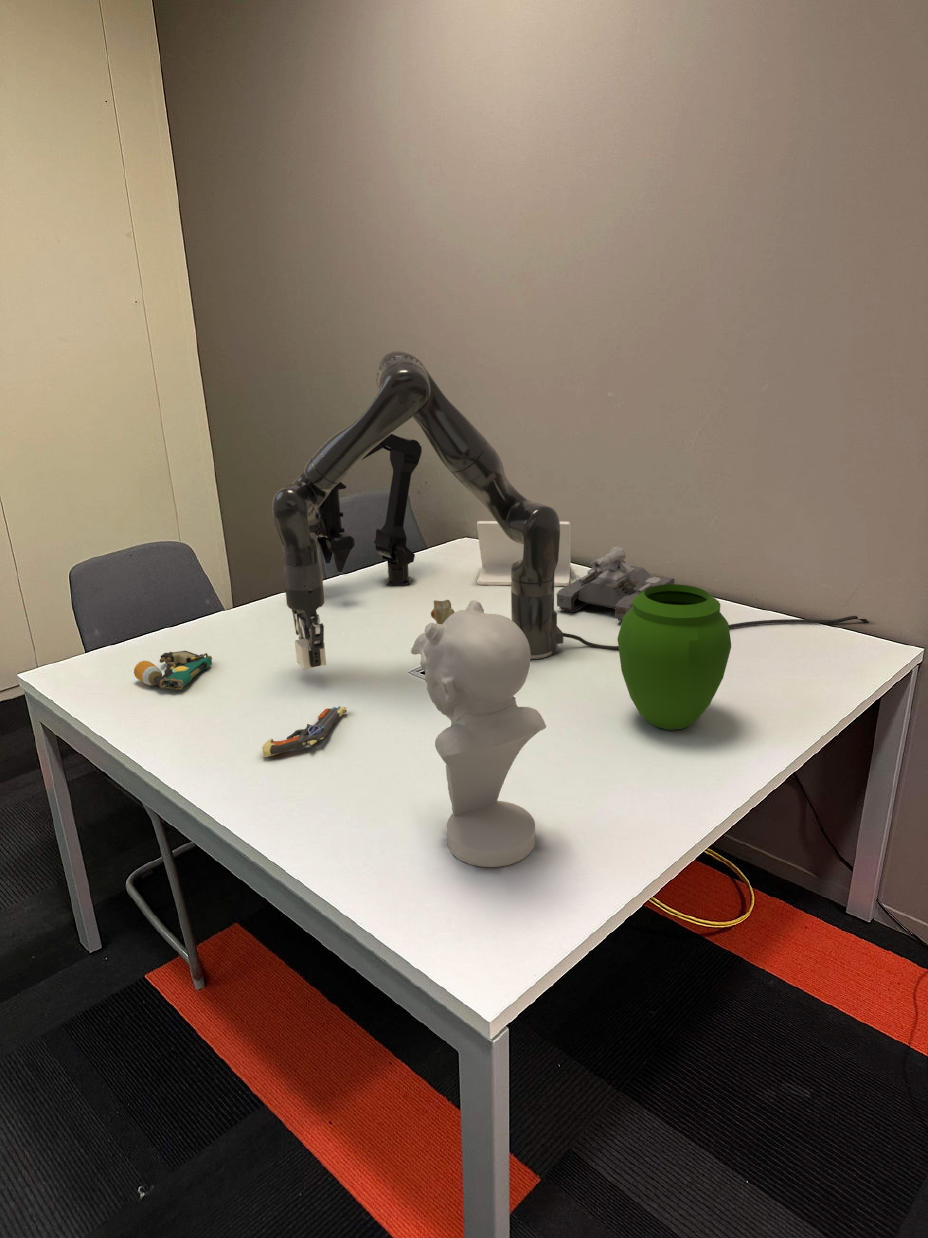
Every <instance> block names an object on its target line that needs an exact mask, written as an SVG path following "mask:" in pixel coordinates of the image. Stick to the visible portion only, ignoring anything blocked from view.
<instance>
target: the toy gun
mask: <svg viewBox="0 0 928 1238" xmlns="http://www.w3.org/2000/svg"><path fill="white" fill-rule="evenodd" d="M347 708H348V707H347V706H340V705H339V706H337V707H336V706H333V707H332V708H325V709H324V710H323V711H322V712H321V713H320V714H319V715H318V716H317V721H316V722H315V723H314V724H309V723H307V724H306V727H305V728H302V729H295V730H294V732H293V733H291V734H290V735H288V736H287V737H286V739H283V740H274V739H273V738H269V740H266V742H264V743H263V745H262V747H261V748H262V749H261V750H262V754H263V756H264V757H267V758H268V757H272V756H275V755H276V756H277V755H280V754H283V753H287V752H290V751H293V750H298V749H300V748H303V747H306V746H309V745H310V746H313V745H314V744H316V743H318V742H319V741H321V740H324V738H325V737H327V735H328V733H329V732H330V731H331V729H332V727H333V725H334V724H335V723H336V722H337V721H338V720H339V718H341V717H342V715H344V714H347V712H348V709H347Z"/></svg>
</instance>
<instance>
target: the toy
mask: <svg viewBox="0 0 928 1238" xmlns="http://www.w3.org/2000/svg"><path fill="white" fill-rule="evenodd" d="M626 557H627V556H626V551H625V549H624V548H622V547H621V546H614V547H612V548H611V549H610V550H609V552H608V553H607V554H605V555H604V556H601V557H599V558H598V559H597V557H596V558H594V559H593V560H592V561H590V562H589V563H590V564H591V565H592V567H591V568H590V569H589V570H587V573H586V575H584V576H582V577H580V578H578V579H577V580H575V581H573V582H570V583H569V585H567V586H563V587H562V588H560V589H559V590H558V591H557V592H556V607H558V608H559V609H560V610H562V611H566V612H572V613H575V612H577V611H579V610H581V609H582V608H585V607H586V606H588V605H592V606H598V607H602V608H603V607H604V608H609V609H613V610H614V618H615V619H617V620H618V621H621V622H622V620H623V616H624V615H625V614H626V613H627V612H628V611H629V610H630V609H631V608H632V607H633V599H634V597H635V596H637V595H639V594H640V593H642V592H644V591H645V590H646V589H648V588H650V587H653V586H658V585H667V584H675V580H676V579H675V578H673V577H668V576H663V575H656V576H655V577H654V576H651V574H650V573H649V572H648V571H647V570H646V568H644V567H641V566H635V565H629V564H628V563H627V562H626V561H625V559H626Z"/></svg>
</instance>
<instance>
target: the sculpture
mask: <svg viewBox="0 0 928 1238" xmlns="http://www.w3.org/2000/svg"><path fill="white" fill-rule="evenodd" d="M455 612H456V611H455V609H453V608H452V602H451V601H450V599H445V600H433V610H431V612H430V617H431V618H432V619H433V620H434V621H435V622H436V623H435V624H443V623H444V622H445V620H446V619H447V618H448V617H450V616H451V615H452V614H453V613H455Z"/></svg>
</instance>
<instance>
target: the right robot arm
mask: <svg viewBox="0 0 928 1238" xmlns="http://www.w3.org/2000/svg"><path fill="white" fill-rule="evenodd" d="M375 375H376V377H375V378H376V379H375V381H376V386H377V394H376V395H375V397H374V399H373V400H372V401H371V403H370V405H369V406H368V407H367V409H366V410H365V411H364V412H363V413H362V414H361V415H360V416H359V417H358V418H357V419H356V420H355V421H353V422H352V423H349V425H347V426H346V427H343V428H342V429H340V430H338V431H337V432H335V433H334V434H333V435H331V436H330V437H329V438H328V439H327V440H325V442H324V443H323V444H322V445H321V446H320V447H319V448H318V449H317V450H316V451H315V452H314V454H313V455H312V456H311V457H310V458H309V460H308V461H307V462H306V464H305V466H304V469H303V471H302V472H301V473H300V474H299V476H298V477H296V478H295V480H293V482H291V483H290V484H287V485H286V486H285V487H282V488H280V489H279V490H278V491H276V493H274V496H273V498H272V505H271V510H272V517H273V521H274V524H275V527H276V531H277V533H278V536H279V538H280V542H281V549H282V556H283V557H282V558H283V581H284V589H285V598H286V600H285V601H286V606H287V608H288V609H290V610H291V612H292V613H291V614H292V617H293V624H294V629H295V634H296V636H298V640H299V639H306V640H307V646H308V652H309V662H310V666H311V667H315V668H317V667H316V666H319V667H321V666H320V665H321V657H320V649H323V648H324V645H325V638H324V637H325V626H324V624H323V622H321V619H320V615H319V614H318V612H317V610H318V609H319V608H322V607H323V606H324V604H325V600H326V599H325V591H324V580H323V569H322V566H321V561H320V549H319V548H320V546H319V543H318V540H317V537H316V535H315V533H313V532H311V531H310V529H309V525H308V521H309V519H308V517H310V516H311V515H313V514H315V512H317V511H318V510H317V509H318V508H319V506H320V505H321V504H322V503H323V502H324V500H325V499H326V498H327V496H328V495H329V494H330V492H331V491H332V489H333V488H335V487H336V486H337V485H338V484H339V483H340V482H341V483H342V481H343V480H344V479H345V477H347V475H348V474H350V472H351V471H353V470H354V468H355V467H356V466H357V465H358V464H359V462H361V461H363V460H364V459H363V458H364V457H365V456H366V455H367V454H368V453H369V452H370V451H371V450H372V449H373V448H374V447H376V446H377V445H378V444H379V443H380V442H382V441H383V440H384V439H385V438H387V437H388V436H389V435H390V434H393V433H394V432H395V431H397V430H398V429H399V428H400V427H402V426H403V425H405V424H406V423H407V422H409V421H411V419H413V420H414V421H415V422H416V423H417V424H418V425H419V427H420V429H421V430H422V432H423V433H424V435H425V436H426V439H427V440H428V441H429V443H430V445H431V447H432V449H434V451H435V452H436V455H437V456H438V458H439V460H440V461H441V462H442V464H443V465H444V466H445V467H446V468H447V469H448V471H449V472H450V473H451V474H452V475H453V476H454V477H455V478H456V480H458V482H460V483H461V484H462V485H463V486H464V487H465V488H466V489H467V490H468V491H469V492H470V493H471V494H472V495H473V496H474V498H476V499H477V500H478V501H479V502H480V504H482V505H483V506H484V507H485V508H486V509H487V511H488V512H489V514H491V517H493V518H494V521H497V523H498V524H499V526H500V527H501V528H502V530H503V531H504V532H505V534H506V535H507V536H508V537H509V538H510V539H511V540H513V541H514V542H516V543H519V544H522V545H524V548H523V559H522V560H519V561H516V562H514V563H513V564H512V567H511V585H510V588H511V589H510V597H511V599H510V603H511V604H510V606H511V607H510V609H511V610H510V615H511V617H510V619H511V620H512V621H513V622H514V623H515V624H516V625H517V626H518V627H519V628H520V629H521V630H522V632H523V633H524V634H525V636H526V638H527V640H528V643H529V646H530V652H531V653H530V655H531V656H530V660H540V659H545V658H548V657H550V656H552V655H557V654H558V653H557V650H558V649H557V648H558V647H557V645H562V644H564V638H568V639H573V640H576V641H579V642H580V643H582V644H583V645H585V646H588V647H591V648H594V649H595V648H596V649H601V650H609V651H619V647H618V645H604V644H597V643H594V642H591V641H587V640H586V639H584V638H583V637H581V636H579V635H576V634H572V633H567V632H563V631H562V630H561V628H560V627H558V613H557V612H556V611H555V586H554V572H555V568H556V566H557V563H558V557H559V542H560V522H561V521H560V517H559V514H558V513H557V511H556V510H555V509H554V508H553V507H551V506H549V505H545V504H542V503H539V502H536V501H532V500H529V499H528V498H526V497H525V496H523V494H521V493H520V492H519V491H518V490H517V488H515V487H514V486H513V485H512V484H511V483H510V481H509V479H508V478H507V475H506V472H505V468H504V465H503V461H502V459H501V457H500V454H499V453H498V452H497V451H496V449H495V448H494V447H493V446H492V445H491V443H490V442H489V441H488V440H487V439H486V438H485V436H484V435H483V434H482V433H481V432H480V431H479V430H478V429H477V428H476V427H475V426H474V424H472V423H471V422H470V420H469V419H468V418H467V417H466V416H465V415H464V414H463V413H462V412H461V411H460V410H459V409H458V408H457V407H456V406H455V405H454V404H453V403H452V402H451V401H450V400H449V399H448V398H447V396H446V395H445V394H444V393H443V391H442V390H441V388H440V387H439V385H438V384H437V383H436V381H435V379H434V378H433V376H432V375H431V374H430V372H429V371H428V369H427V368H426V366H425V365H424V363H423V362H422V361H421V359H419V357H417V356H415V354H412V353H410V352H408V351H403V350H395V351H391V352H388V353H386V354H385V355H384V356H383V357H382V358H381V359H380V361H379V363H378V364H377V368H376V374H375ZM362 459H363V460H362ZM857 616H858V615H850V616H845V617H840V618H837V619H811V618H810V619H809V618H807V619H806V618H805V619H804V618H799V619H798V618H791V619H790V618H789V619H787V618H785V619H781V618H780V619H762V620H752V621H743V622H739V623H732V624H729V629H734V628H740V627H747V626H757V625H769V624H771V625H772V624H839V623H843V622H847V621H852V620H859V621H862V622H863V623H864V624H870V622H869V620H868V619H867V618H865V619H858V617H857ZM315 641H316V642H317V643H315V644H314V642H315Z"/></svg>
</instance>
